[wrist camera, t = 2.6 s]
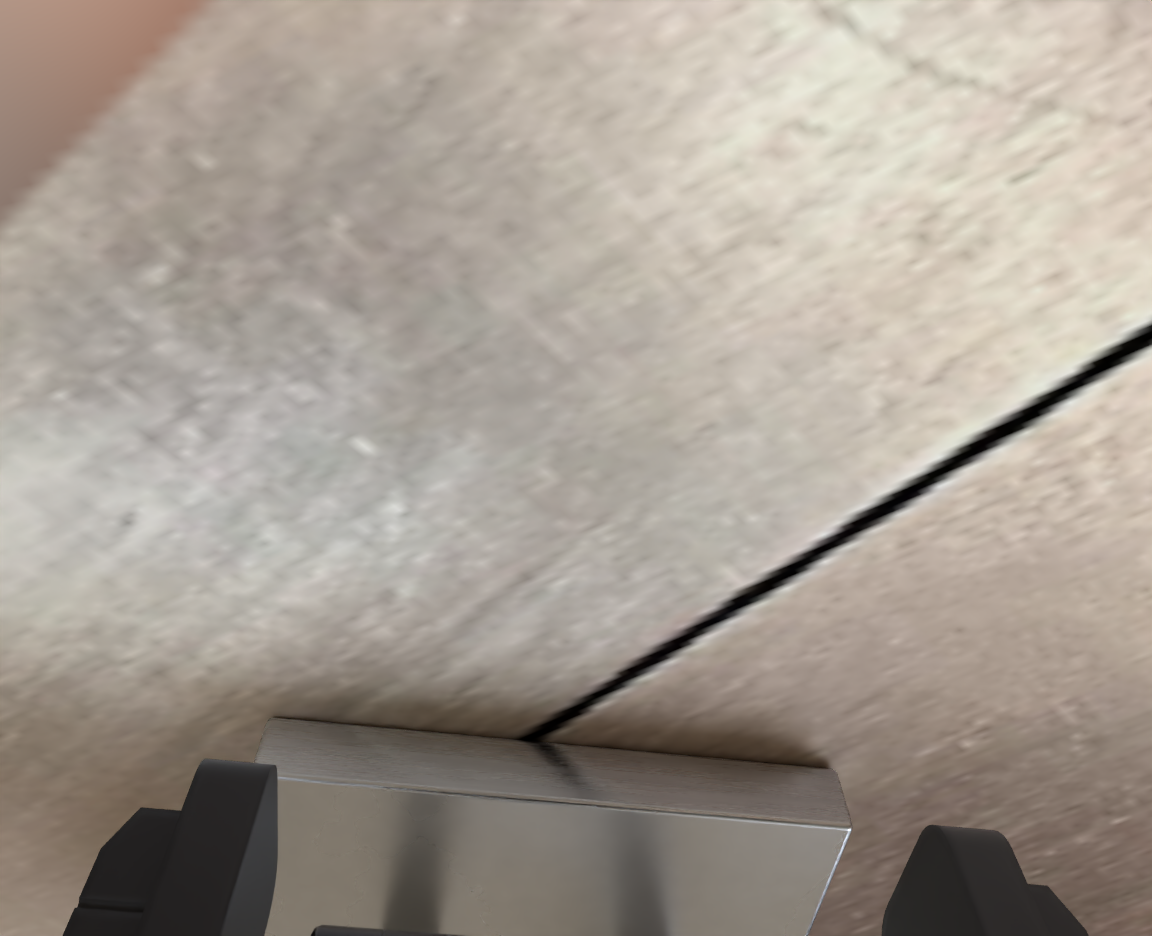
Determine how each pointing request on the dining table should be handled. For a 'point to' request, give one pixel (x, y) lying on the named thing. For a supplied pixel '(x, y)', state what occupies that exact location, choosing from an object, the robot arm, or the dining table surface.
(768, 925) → the lever bracket
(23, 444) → the dining table surface
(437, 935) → the press lever
